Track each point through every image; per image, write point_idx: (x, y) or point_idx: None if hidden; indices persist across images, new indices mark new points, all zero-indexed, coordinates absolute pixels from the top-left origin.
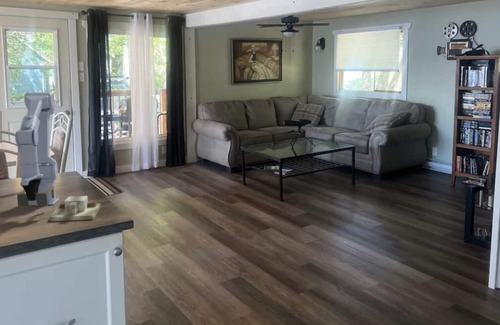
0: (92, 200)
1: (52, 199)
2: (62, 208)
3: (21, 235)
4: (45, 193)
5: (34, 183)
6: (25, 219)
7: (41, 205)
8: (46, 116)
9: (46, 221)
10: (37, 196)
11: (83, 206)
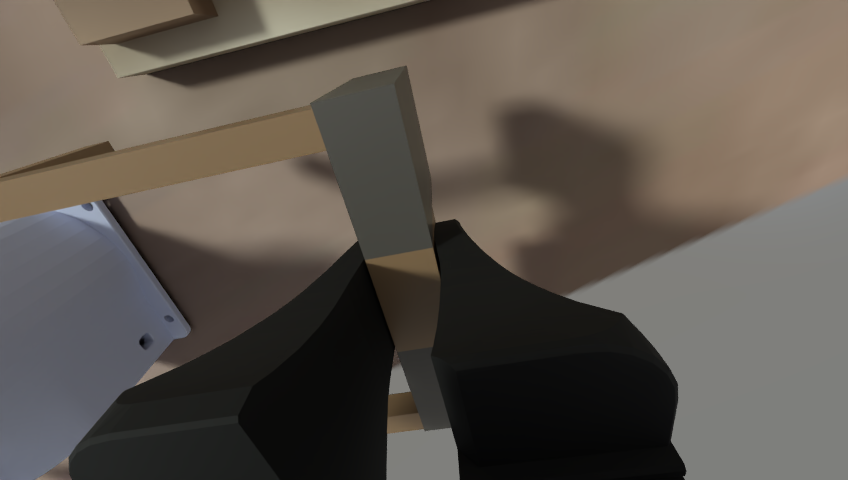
0: None
1: (37, 223)
2: None
3: None
4: (371, 113)
5: (675, 386)
6: (469, 221)
7: (420, 136)
8: None
9: (522, 16)
10: (428, 214)
11: None
